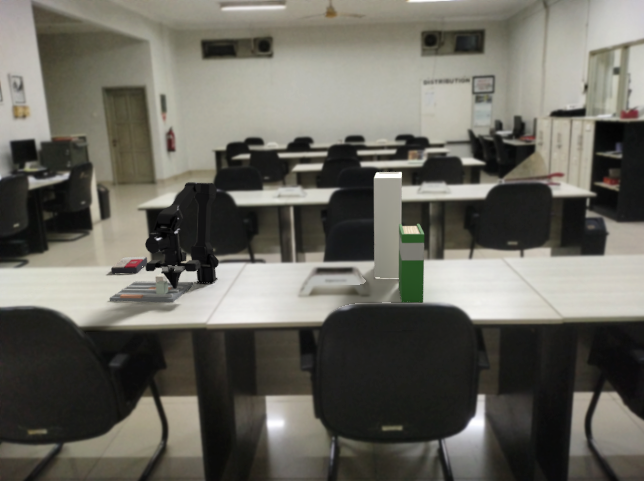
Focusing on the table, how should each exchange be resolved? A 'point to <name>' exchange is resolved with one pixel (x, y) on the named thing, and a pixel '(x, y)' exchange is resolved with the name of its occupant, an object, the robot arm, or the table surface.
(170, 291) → the grey slider track board
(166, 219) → the robot arm
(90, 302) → the table surface
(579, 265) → the table surface
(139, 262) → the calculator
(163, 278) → the cream slider
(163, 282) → the sage slider
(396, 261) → the storage box
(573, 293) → the table surface
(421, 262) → the hardback book
